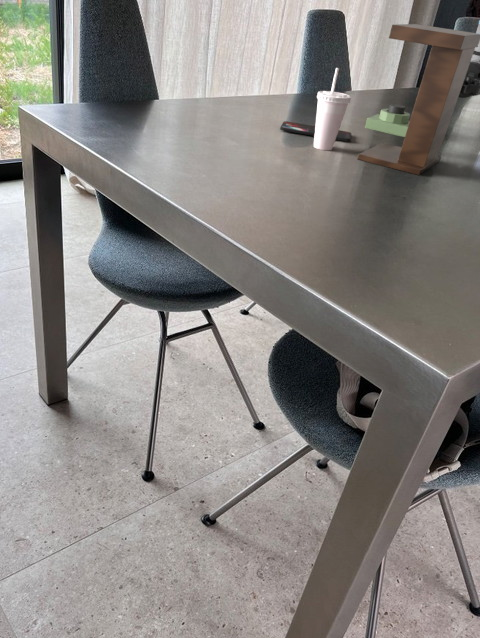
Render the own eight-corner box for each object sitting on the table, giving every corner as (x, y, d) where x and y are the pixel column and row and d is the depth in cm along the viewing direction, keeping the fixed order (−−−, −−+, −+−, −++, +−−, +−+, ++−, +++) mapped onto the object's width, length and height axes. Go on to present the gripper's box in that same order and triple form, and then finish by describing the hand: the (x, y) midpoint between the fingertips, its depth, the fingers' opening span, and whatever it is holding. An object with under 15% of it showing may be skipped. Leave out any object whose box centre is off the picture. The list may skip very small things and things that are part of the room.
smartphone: (351, 139, 117) (279, 127, 119) (350, 142, 118) (279, 130, 119) (351, 132, 123) (283, 120, 125) (350, 135, 123) (283, 123, 125)
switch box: (416, 132, 133) (421, 114, 131) (406, 137, 128) (412, 118, 125) (375, 123, 137) (380, 105, 135) (364, 128, 132) (369, 109, 129)
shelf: (438, 161, 113) (482, 34, 100) (419, 175, 103) (464, 35, 90) (380, 147, 117) (415, 24, 104) (357, 159, 107) (392, 24, 95)
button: (405, 114, 131) (407, 106, 130) (400, 116, 128) (402, 108, 127) (390, 111, 132) (392, 103, 131) (385, 113, 130) (387, 104, 129)
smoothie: (315, 141, 116) (331, 64, 107) (344, 149, 113) (363, 70, 105) (301, 146, 111) (317, 66, 103) (330, 154, 108) (349, 72, 100)
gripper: (497, 103, 134) (477, 115, 118) (430, 89, 141) (402, 99, 124) (511, 67, 130) (492, 75, 113) (441, 55, 136) (414, 61, 120)
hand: (445, 88), depth 119 cm, fingers closed on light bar, 3 cm apart
